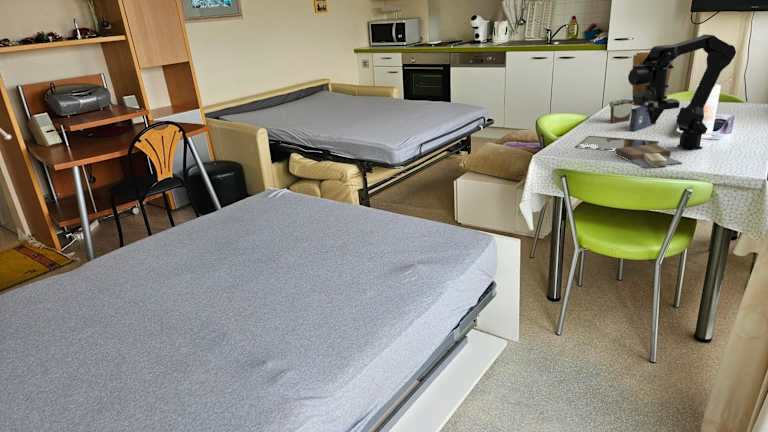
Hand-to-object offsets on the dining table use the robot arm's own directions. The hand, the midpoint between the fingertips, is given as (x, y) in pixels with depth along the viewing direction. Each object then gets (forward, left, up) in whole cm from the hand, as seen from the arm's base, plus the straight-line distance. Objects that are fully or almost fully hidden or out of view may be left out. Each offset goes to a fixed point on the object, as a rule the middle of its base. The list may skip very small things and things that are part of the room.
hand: (652, 123), depth 195 cm
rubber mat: (+6, +12, -11) cm, 17 cm away
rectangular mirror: (+4, -14, -12) cm, 19 cm away
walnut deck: (+5, +3, -11) cm, 12 cm away
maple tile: (+6, +13, -11) cm, 18 cm away
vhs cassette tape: (-21, -36, -12) cm, 44 cm away
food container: (-18, -52, -12) cm, 57 cm away
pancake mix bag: (-51, -77, -12) cm, 94 cm away
